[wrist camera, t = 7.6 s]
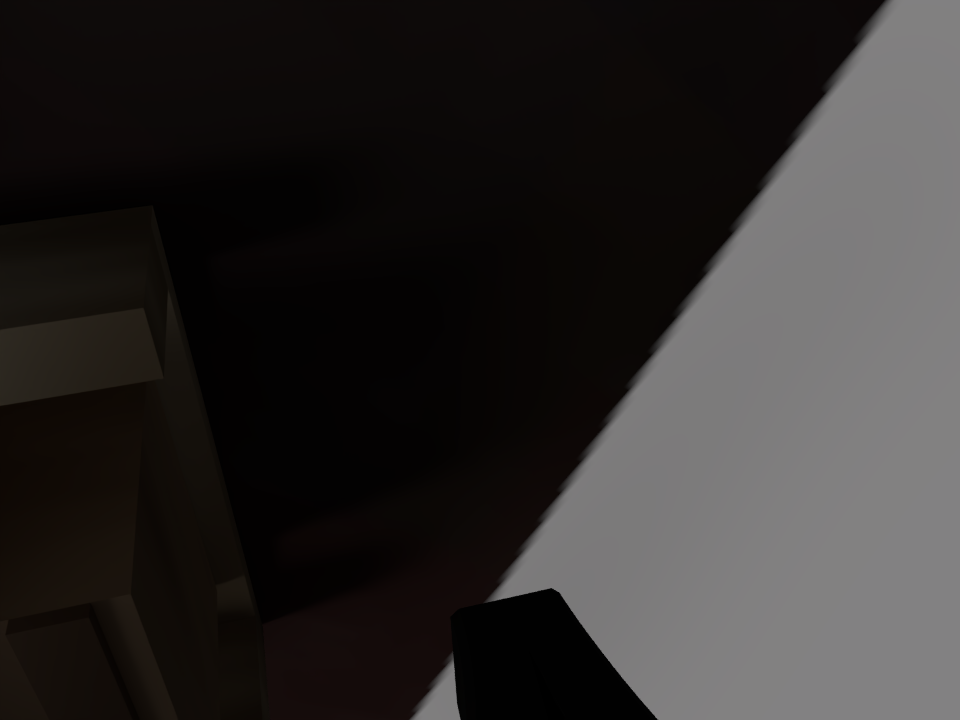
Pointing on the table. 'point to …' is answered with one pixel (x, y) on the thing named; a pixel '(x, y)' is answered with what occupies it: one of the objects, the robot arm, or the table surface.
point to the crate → (101, 565)
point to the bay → (127, 360)
